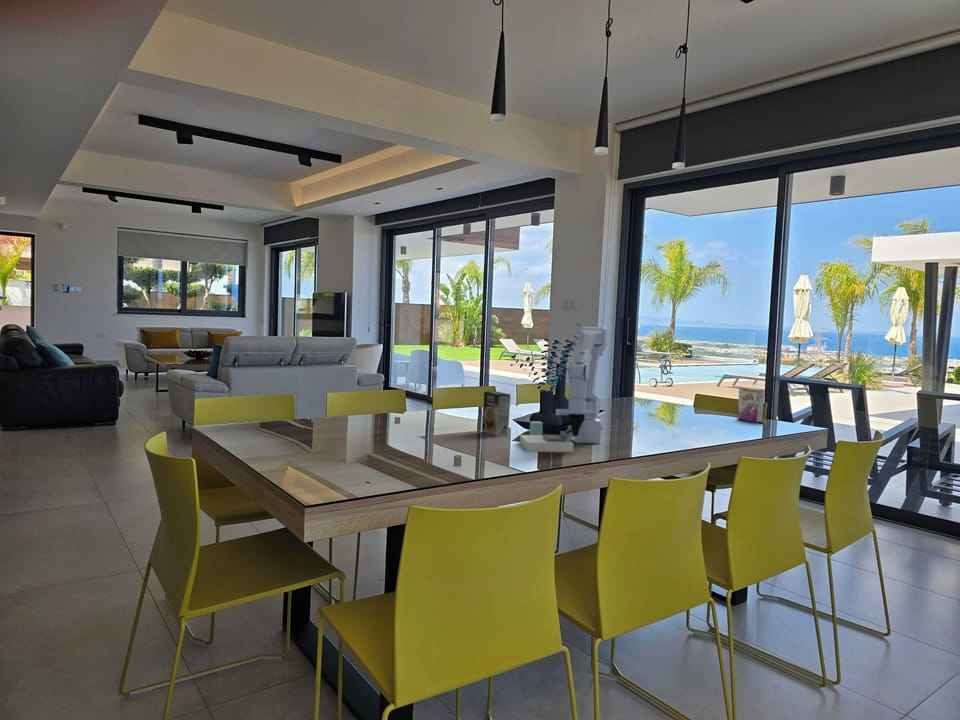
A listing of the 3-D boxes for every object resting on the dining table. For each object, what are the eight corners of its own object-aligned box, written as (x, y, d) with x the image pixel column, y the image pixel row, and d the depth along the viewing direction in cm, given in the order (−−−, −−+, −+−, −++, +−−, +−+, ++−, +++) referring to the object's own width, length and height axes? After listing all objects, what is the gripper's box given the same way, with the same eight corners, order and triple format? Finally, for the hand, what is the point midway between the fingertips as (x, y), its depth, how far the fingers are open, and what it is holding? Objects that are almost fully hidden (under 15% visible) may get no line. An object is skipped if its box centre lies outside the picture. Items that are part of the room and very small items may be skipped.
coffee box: (481, 432, 246) (483, 391, 245) (494, 431, 250) (496, 390, 249) (496, 436, 239) (498, 394, 238) (509, 435, 243) (511, 393, 242)
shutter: (563, 437, 225) (563, 431, 225) (568, 441, 218) (568, 434, 218) (542, 437, 225) (542, 430, 224) (546, 440, 217) (547, 434, 217)
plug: (539, 438, 238) (540, 421, 238) (542, 440, 234) (542, 423, 234) (529, 438, 238) (530, 421, 237) (531, 440, 234) (532, 423, 233)
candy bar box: (736, 419, 313) (738, 386, 312) (743, 419, 316) (745, 386, 315) (756, 423, 303) (758, 389, 302) (762, 422, 306) (765, 389, 305)
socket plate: (562, 444, 229) (563, 436, 229) (572, 452, 215) (573, 443, 215) (519, 443, 227) (520, 435, 227) (527, 451, 213) (527, 442, 213)
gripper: (559, 398, 216) (557, 437, 217) (600, 399, 218) (598, 438, 219) (555, 395, 223) (553, 433, 224) (594, 397, 225) (592, 434, 226)
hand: (575, 435), depth 222 cm, fingers closed
